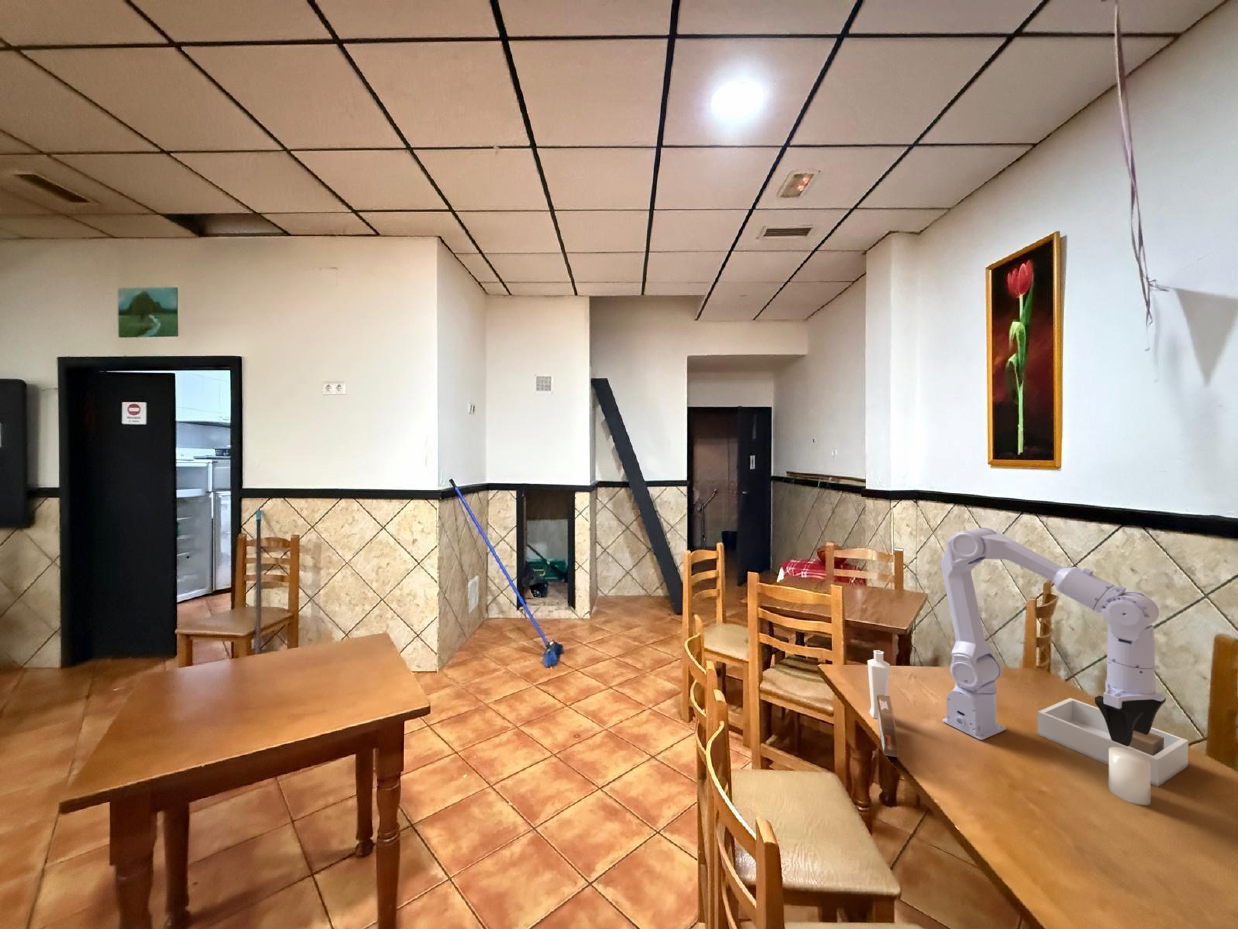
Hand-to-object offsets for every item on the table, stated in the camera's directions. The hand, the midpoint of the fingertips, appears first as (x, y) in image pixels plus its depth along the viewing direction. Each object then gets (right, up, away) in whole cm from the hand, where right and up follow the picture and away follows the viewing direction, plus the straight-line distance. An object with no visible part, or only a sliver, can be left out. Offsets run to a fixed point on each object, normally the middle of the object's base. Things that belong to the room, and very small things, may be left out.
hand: (1130, 737), depth 82 cm
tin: (-35, -10, +15) cm, 39 cm away
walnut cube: (+11, -9, +8) cm, 16 cm away
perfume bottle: (-31, -10, +26) cm, 41 cm away
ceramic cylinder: (-1, -10, 0) cm, 10 cm away
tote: (+9, -10, +12) cm, 18 cm away
